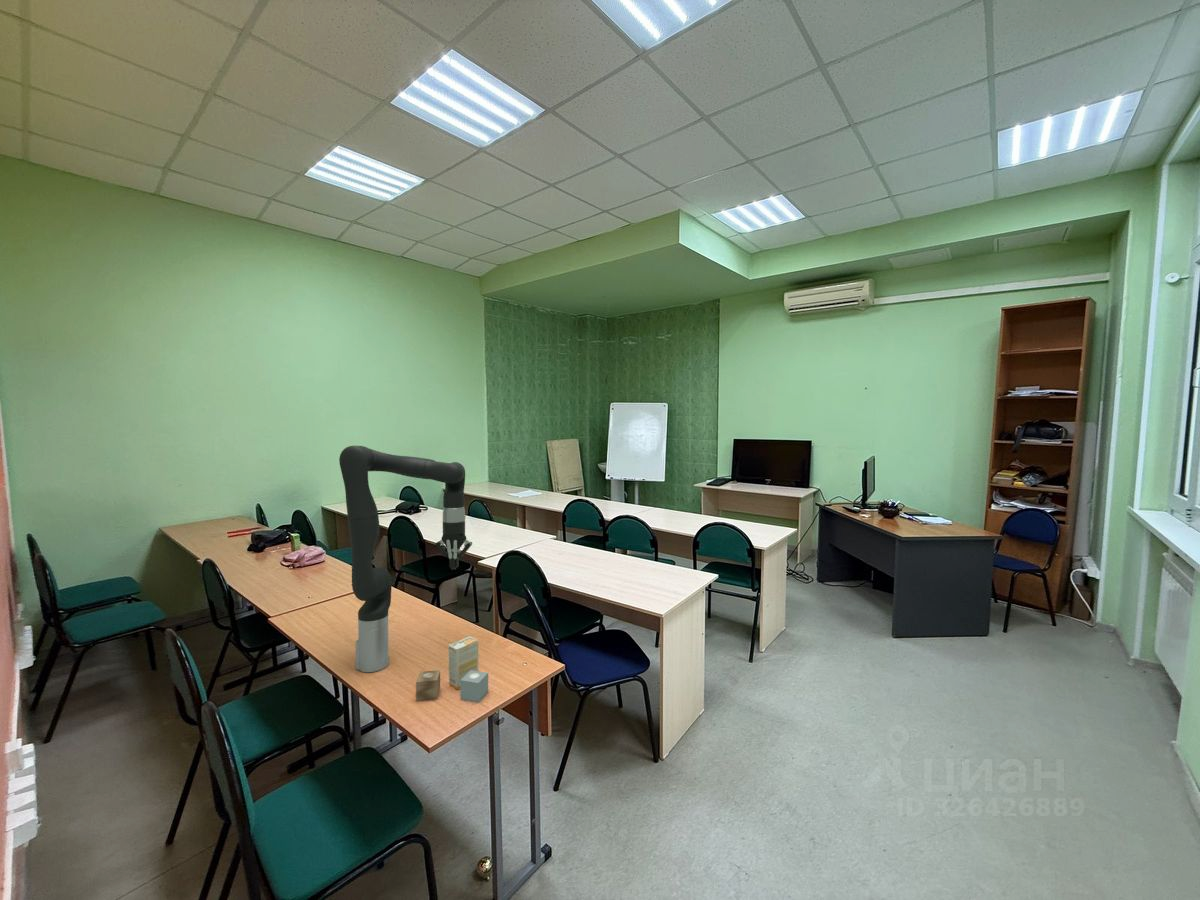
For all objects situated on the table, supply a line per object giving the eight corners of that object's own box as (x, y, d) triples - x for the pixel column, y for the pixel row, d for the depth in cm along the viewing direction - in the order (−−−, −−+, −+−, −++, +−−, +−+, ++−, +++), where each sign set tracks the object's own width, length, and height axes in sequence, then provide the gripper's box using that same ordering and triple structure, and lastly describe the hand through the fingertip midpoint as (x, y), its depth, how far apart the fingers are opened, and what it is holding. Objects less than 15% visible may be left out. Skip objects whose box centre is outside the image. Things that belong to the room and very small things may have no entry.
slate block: (460, 699, 140) (460, 679, 140) (470, 688, 146) (470, 669, 145) (478, 702, 138) (478, 682, 138) (488, 691, 144) (488, 672, 144)
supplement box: (470, 674, 154) (470, 635, 154) (479, 679, 151) (479, 639, 151) (448, 684, 148) (447, 644, 147) (456, 690, 145) (456, 648, 144)
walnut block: (416, 701, 139) (415, 681, 138) (420, 690, 145) (419, 671, 144) (437, 699, 140) (437, 679, 140) (440, 688, 146) (440, 669, 145)
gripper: (430, 521, 160) (431, 571, 161) (468, 522, 159) (468, 572, 160) (440, 517, 167) (440, 565, 168) (476, 518, 166) (476, 566, 167)
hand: (454, 568), depth 164 cm, fingers closed
